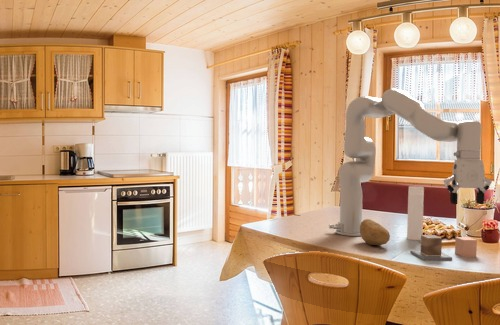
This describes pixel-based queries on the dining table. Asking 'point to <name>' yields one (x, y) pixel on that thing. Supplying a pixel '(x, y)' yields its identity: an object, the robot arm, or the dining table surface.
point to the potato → (373, 233)
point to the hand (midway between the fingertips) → (466, 203)
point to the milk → (415, 213)
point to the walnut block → (431, 244)
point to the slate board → (430, 256)
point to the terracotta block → (465, 246)
